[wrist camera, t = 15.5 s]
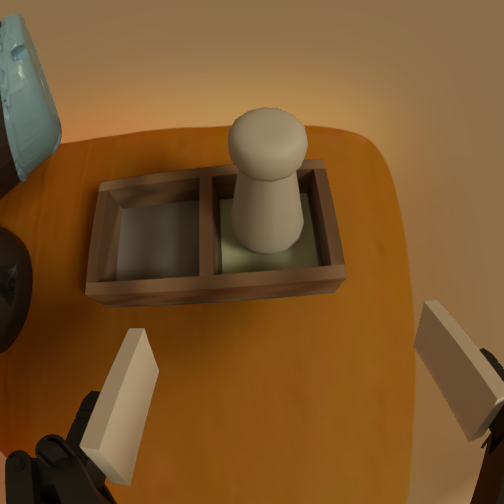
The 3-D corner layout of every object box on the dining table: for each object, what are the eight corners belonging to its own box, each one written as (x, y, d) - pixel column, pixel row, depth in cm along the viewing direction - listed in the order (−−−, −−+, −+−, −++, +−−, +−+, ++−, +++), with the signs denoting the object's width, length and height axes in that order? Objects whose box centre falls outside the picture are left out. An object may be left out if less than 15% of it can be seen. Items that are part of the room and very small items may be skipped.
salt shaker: (231, 205, 28) (211, 96, 16) (294, 199, 28) (310, 88, 16) (236, 267, 26) (212, 176, 14) (304, 260, 26) (335, 166, 14)
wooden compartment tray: (109, 307, 26) (85, 295, 22) (118, 205, 30) (100, 182, 26) (334, 292, 26) (346, 277, 22) (316, 186, 30) (323, 159, 26)
